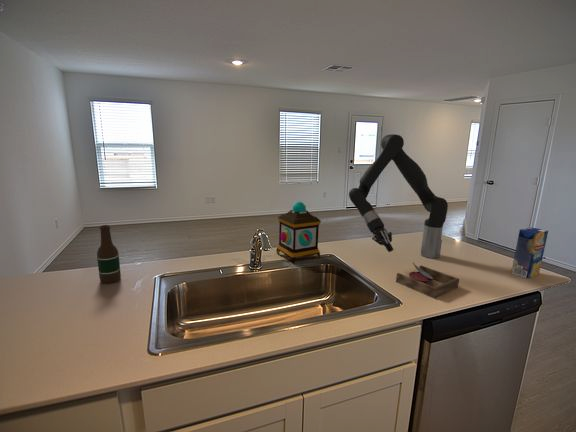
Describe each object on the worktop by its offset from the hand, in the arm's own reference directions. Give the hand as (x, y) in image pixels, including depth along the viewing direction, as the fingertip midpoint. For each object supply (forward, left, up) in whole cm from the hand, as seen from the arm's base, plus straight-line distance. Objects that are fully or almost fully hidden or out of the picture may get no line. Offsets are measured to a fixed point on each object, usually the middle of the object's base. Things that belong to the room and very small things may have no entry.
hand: (391, 251), depth 145 cm
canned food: (-3, +16, -10) cm, 19 cm away
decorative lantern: (+34, -33, -10) cm, 48 cm away
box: (-3, +19, -9) cm, 21 cm away
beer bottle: (+122, -34, -10) cm, 127 cm away
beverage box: (-59, +28, -10) cm, 66 cm away
